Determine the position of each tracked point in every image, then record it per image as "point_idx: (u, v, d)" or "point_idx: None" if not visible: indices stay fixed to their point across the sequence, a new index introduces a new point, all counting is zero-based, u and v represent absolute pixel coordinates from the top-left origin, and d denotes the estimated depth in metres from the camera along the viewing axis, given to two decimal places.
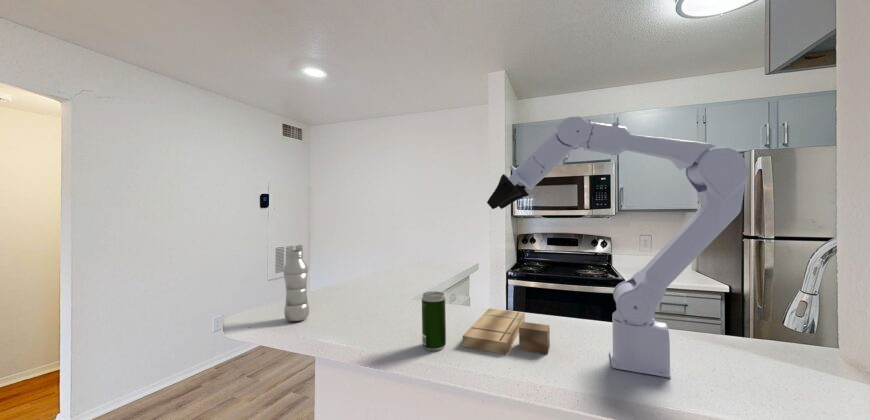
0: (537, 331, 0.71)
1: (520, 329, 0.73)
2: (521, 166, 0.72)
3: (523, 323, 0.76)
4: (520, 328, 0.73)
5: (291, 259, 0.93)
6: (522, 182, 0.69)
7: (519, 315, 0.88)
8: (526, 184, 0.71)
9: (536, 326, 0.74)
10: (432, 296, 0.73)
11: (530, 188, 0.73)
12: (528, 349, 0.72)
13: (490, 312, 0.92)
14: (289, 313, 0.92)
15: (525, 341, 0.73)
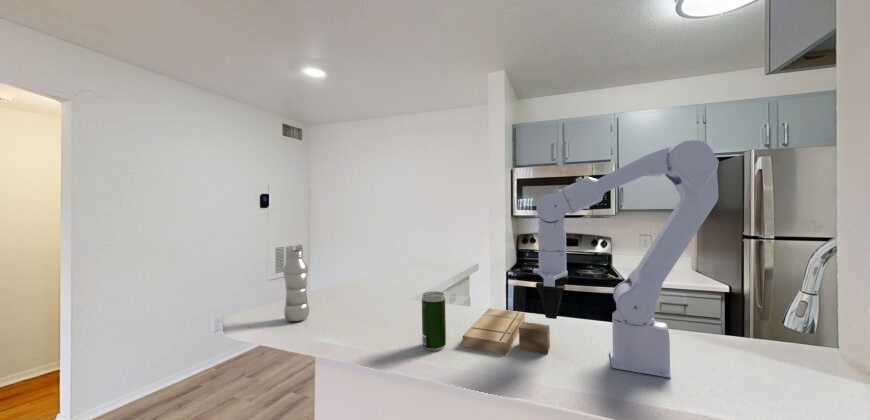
0: (537, 331, 0.71)
1: (520, 329, 0.73)
2: (541, 264, 0.71)
3: (523, 323, 0.76)
4: (520, 328, 0.73)
5: (291, 259, 0.93)
6: (556, 277, 0.67)
7: (519, 315, 0.88)
8: (560, 275, 0.68)
9: (536, 326, 0.74)
10: (432, 296, 0.73)
11: (566, 274, 0.70)
12: (528, 349, 0.72)
13: (490, 312, 0.92)
14: (289, 313, 0.92)
15: (525, 341, 0.73)
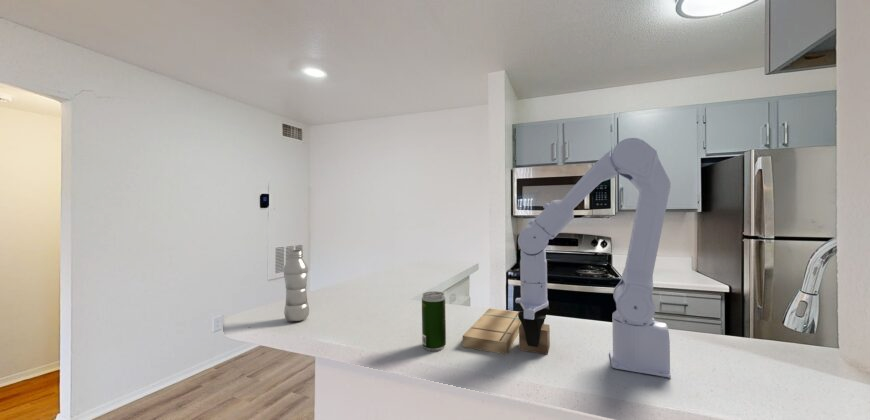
0: None
1: (520, 329, 0.73)
2: (523, 295, 0.73)
3: None
4: (520, 328, 0.73)
5: (291, 259, 0.93)
6: (536, 310, 0.68)
7: None
8: (541, 307, 0.70)
9: None
10: (432, 296, 0.73)
11: (546, 305, 0.71)
12: (528, 349, 0.72)
13: (490, 312, 0.92)
14: (289, 313, 0.92)
15: (525, 340, 0.72)
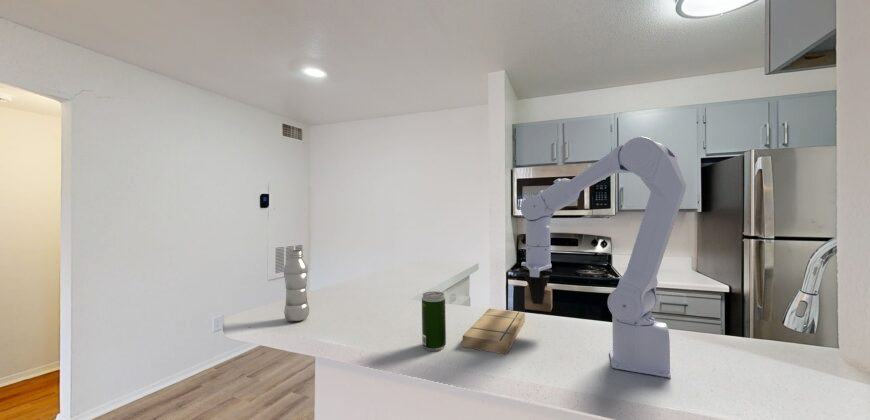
0: None
1: (525, 290, 0.80)
2: (528, 258, 0.80)
3: None
4: (525, 289, 0.80)
5: (291, 259, 0.93)
6: (541, 269, 0.75)
7: (519, 315, 0.88)
8: (545, 267, 0.77)
9: None
10: (432, 296, 0.73)
11: (550, 266, 0.79)
12: (533, 307, 0.79)
13: (490, 312, 0.92)
14: (289, 313, 0.92)
15: (530, 300, 0.80)
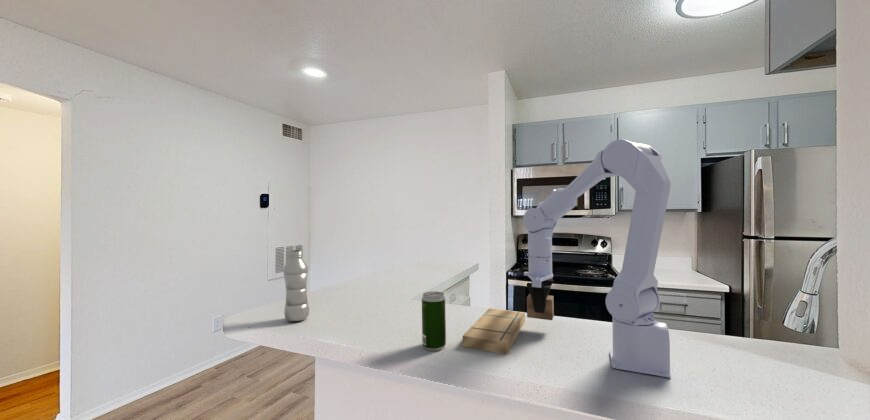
0: None
1: (528, 299, 0.83)
2: (531, 268, 0.83)
3: (530, 294, 0.86)
4: (528, 298, 0.83)
5: (291, 259, 0.93)
6: (543, 280, 0.78)
7: (519, 315, 0.88)
8: (546, 277, 0.80)
9: None
10: (432, 296, 0.73)
11: (551, 276, 0.81)
12: (535, 316, 0.82)
13: (490, 312, 0.92)
14: (289, 313, 0.92)
15: (532, 309, 0.82)
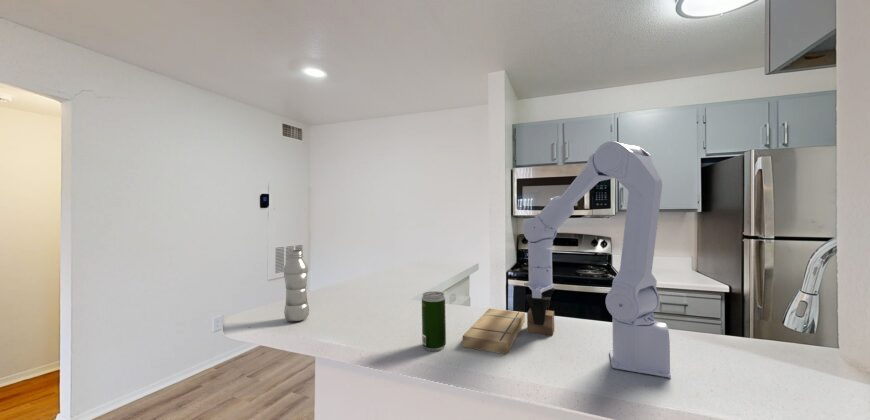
0: None
1: (528, 314, 0.83)
2: (531, 278, 0.83)
3: None
4: (528, 313, 0.83)
5: (291, 259, 0.93)
6: (543, 290, 0.78)
7: (519, 315, 0.88)
8: (546, 288, 0.80)
9: None
10: (432, 296, 0.73)
11: (551, 287, 0.81)
12: (535, 332, 0.82)
13: (490, 312, 0.92)
14: (289, 313, 0.92)
15: (532, 324, 0.83)
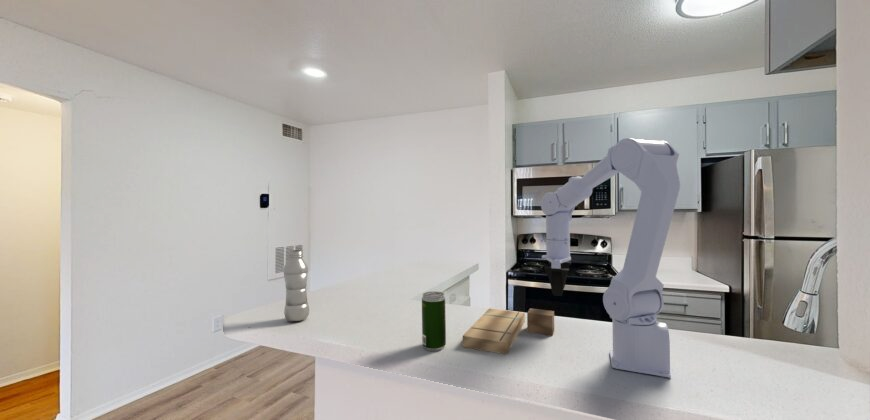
0: (543, 315, 0.81)
1: (528, 314, 0.83)
2: (549, 251, 0.84)
3: (531, 309, 0.86)
4: (528, 313, 0.83)
5: (291, 259, 0.93)
6: (562, 261, 0.80)
7: (519, 315, 0.88)
8: (565, 259, 0.81)
9: (542, 312, 0.84)
10: (432, 296, 0.73)
11: (569, 259, 0.83)
12: (535, 331, 0.82)
13: (490, 312, 0.92)
14: (289, 313, 0.92)
15: (533, 324, 0.83)
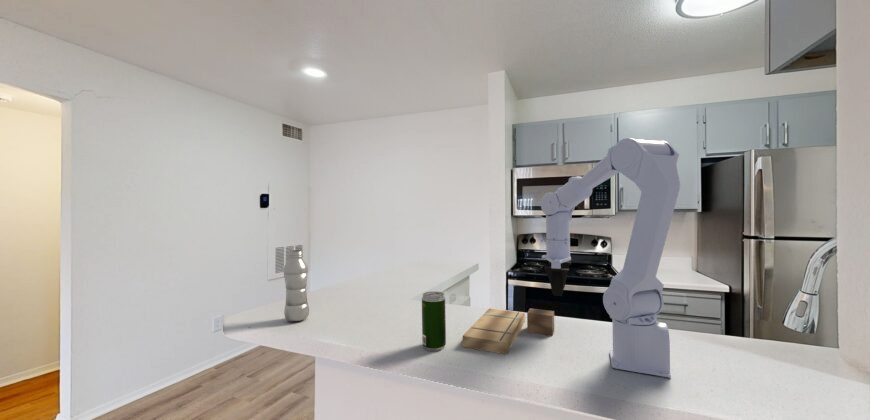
0: (543, 315, 0.81)
1: (528, 314, 0.83)
2: (549, 251, 0.84)
3: (531, 309, 0.86)
4: (528, 313, 0.83)
5: (291, 259, 0.93)
6: (562, 261, 0.80)
7: (519, 315, 0.88)
8: (565, 259, 0.81)
9: (542, 312, 0.84)
10: (432, 296, 0.73)
11: (569, 259, 0.83)
12: (535, 331, 0.82)
13: (490, 312, 0.92)
14: (289, 313, 0.92)
15: (533, 324, 0.83)
